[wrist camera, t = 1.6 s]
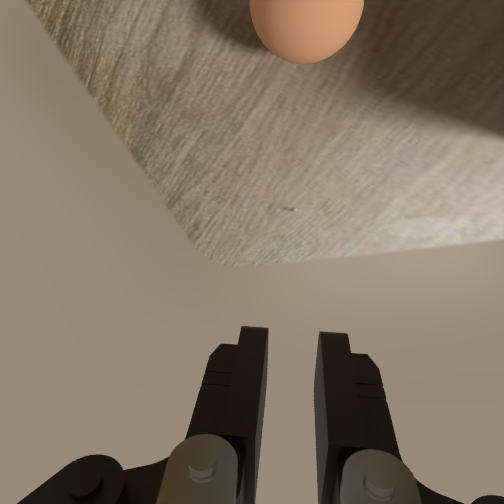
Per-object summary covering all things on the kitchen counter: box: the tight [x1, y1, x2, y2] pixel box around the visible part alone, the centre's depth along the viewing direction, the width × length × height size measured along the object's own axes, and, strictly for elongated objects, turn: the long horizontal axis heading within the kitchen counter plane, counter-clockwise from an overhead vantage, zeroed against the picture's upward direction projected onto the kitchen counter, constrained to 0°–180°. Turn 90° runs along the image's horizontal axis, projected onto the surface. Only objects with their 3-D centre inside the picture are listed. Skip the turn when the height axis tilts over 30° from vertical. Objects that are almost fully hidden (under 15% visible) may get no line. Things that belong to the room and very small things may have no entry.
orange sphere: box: [250, 0, 364, 64], centre depth 20 cm, size 5×5×5 cm
